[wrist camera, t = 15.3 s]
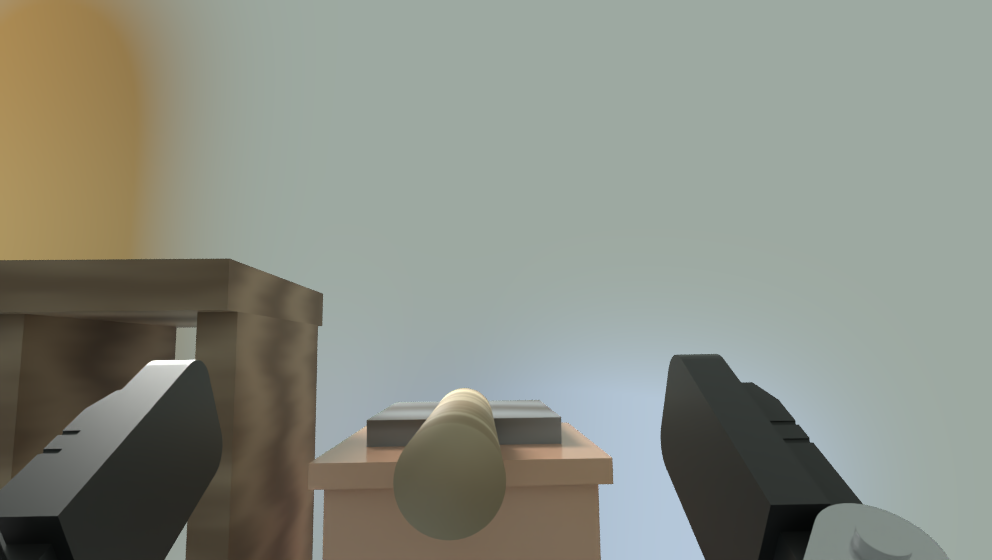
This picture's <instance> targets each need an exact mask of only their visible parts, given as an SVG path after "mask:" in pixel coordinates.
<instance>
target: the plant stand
mask: <svg viewBox="0 0 992 560" xmlns="http://www.w3.org/2000/svg"><path fill="white" fill-rule="evenodd" d="M322 307H323V294H322V293H319V292H317V291H314V290H311V289H309V288H306V287H303V286H301V285H298V284H295V283H293V282H290V281H287V280H285V279H282V278H279V277H277V276H274V275H272V274H269V273H266V272H264V271H261V270H258V269H256V268H253V267H250V266H247V265H245V264H242V263H239V262H237V261H234V260H232V259H131V260H130V259H128V260H7V261H6V260H0V490H1V489H2V488H3V487H4V486H5V485H6V484H7V483H8V482H9V481H10V480H11V479H12V478H13V477H14V476H15V475H17V474H18V473H19V472H20V471H21V470H22V469H23V468H24V467H25V466H26V465H27V464H28V463H29V462H30V461H31V460H32V459H33V458H34V457H35V456H36V455H37V454H42V453H43V449H44V448H45V447H46V446H47V445H48V444H49V443H50V442H51V441H52V440H53V439H54V438H55V437H56V436H57V435H62V433H63V431H62V430H64V429H65V428H66V427H67V426H68V425H69V424H70V423H71V422H72V421H73V420H74V419H75V418H76V417H77V416H78V415H79V414H80V413H81V412H82V411H83V410H84V409H86V408H87V407H89V406H91V405H93V404H94V403H96V402H98V401H99V400H101V399H103V398H105V397H106V396H108V395H110V394H111V393H113V392H115V391H117V390H122V389H123V388H124V387H125V386H126V385H127V384H128V383H129V382H130V381H131V380H132V379H133V378H134V377H135V376H136V375H137V374H138V373H139V372H140V371H141V370H142V369H143V368H144V367H145V366H146V365H147V364H148V363H149V362H151V361H155V360H175V343H176V328H178V327H197V335H196V355H195V360H200V361H202V362H203V363H204V364H205V366H206V367H207V370H208V373H209V377H210V382H211V387H212V391H213V396H214V400H215V405H216V410H217V414H218V419H219V423H220V428H221V432H222V440H223V447H222V456H221V461H220V464H219V467H218V470H217V472H216V474H215V476H214V477H213V479H212V481H211V482H210V484H209V486H208V487H207V489H206V491H205V492H204V494H203V496H202V497H201V499H200V501H199V502H198V504H197V506H196V507H195V509H194V511H193V512H192V514H191V516H190V517H189V519H188V521H187V541H186V560H312V549H313V507H314V505H313V504H314V503H313V502H314V490H308V471H309V463H310V462H312V461H313V460H315V423H316V381H317V337H318V326H322V311H323V308H322Z"/></svg>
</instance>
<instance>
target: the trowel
mask: <svg viewBox="0 0 992 560" xmlns="http://www.w3.org/2000/svg"><path fill="white" fill-rule="evenodd" d="M511 444H562V435H561V417H560V416H559V415H558V414H556V413H555V412H554V411H552V410H551V409H550V408H548V407H547V406H546V405H545V404H544V403H542V402H541V401H540V400H517V401H487V399H486V398H485V397H484V396H483V395H482V394H481V393H479V392H478V391H476V390H473V389H468V388H461V389H456V390H454V391H452V392H450V393H448V394H447V395H446V396H445V397H444V398H443V399H442V400H441V402H397V403H395V404H393V405H391V406H390V407H388V408H386V409H385V410H383V411H381V412H380V413H378V414H376V415H375V416H373V417H372V418H370V419H368V420H367V447H394V446H406V447H405V448H404V450H403V451H402V453H401V454H400V457H399V459H398V461H397V464H396V467H395V471H394V479H393V488H394V495H395V499H396V502H397V505H398V507H399V509H400V512H401V513H402V515H403V516H404V518H405V519H406V520H407V521H408V523H409V524H410V525H411V526H413V527H414V528H415V529H416V530H418V531H419V532H421V533H422V534H424V535H426V536H428V537H432V538H435V539H439V540H459V539H463V538H466V537H469V536H472V535H474V534H475V533H477V532H479V531H480V530H482V529H483V528H485V527H486V526H487V525H488V524H489V523H490V522H491V521H492V519H493V518H494V517H495V515H496V514H497V512H498V511H499V509H500V507H501V504H502V502H503V499H504V495H505V490H506V472H505V468H504V463H503V458H502V454H501V450H500V445H511Z"/></svg>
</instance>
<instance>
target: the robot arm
mask: <svg viewBox="0 0 992 560" xmlns="http://www.w3.org/2000/svg"><path fill="white" fill-rule="evenodd" d="M62 431H63V433H62V435H57V436H56V437H55V438H54V439H53V440H52V441H51V442H50V443H49V444H48V445H47V446H46V447H45V448H44V449H43V453H42V454H37V455H36V456H35V457H34V458H33V459H32V460H31V461H30V462H29V463H28V464H27V465H26V466H25V467H24V468H23V469H22V470H21V471H20V472H19V473H18V474H17V475H15V476H14V477H13V478H12V479H11V480H10V481H9V482H8V483H7V484H6V485H5V486H4V487H3V488H2V489H1V490H0V560H164V559H165V558H166V556H167V554H168V553H169V551H170V549H171V548H172V546H173V544H174V543H175V541H176V539H177V538H178V536H179V534H180V532H181V531H182V529H183V528H184V526H185V524H186V523H187V521H188V519H189V517H190V516H191V514H192V512H193V511H194V509H195V507H196V506H197V504H198V502H199V501H200V499H201V497H202V496H203V494H204V492H205V491H206V489H207V487H208V486H209V484H210V482H211V481H212V479H213V477H214V476H215V474H216V472H217V470H218V467H219V464H220V461H221V456H222V447H223V440H222V432H221V428H220V423H219V419H218V414H217V410H216V405H215V400H214V396H213V391H212V387H211V382H210V377H209V373H208V370H207V367H206V366H205V364H204V363H203V362H202V361H200V360H155V361H151V362H149V363H148V364H147V365H146V366H145V367H144V368H143V369H142V370H141V371H140V372H139V373H138V374H137V375H136V376H135V377H134V378H133V379H132V380H131V381H130V382H129V383H128V384H127V385H126V386H125V387H124V388H123V389H122V390H117V391H115V392H113V393H111V394H110V395H108V396H106V397H105V398H103V399H101V400H99V401H98V402H96V403H94V404H93V405H91V406H89V407H87V408H86V409H84V410H83V411H82V412H81V413H80V414H79V415H78V416H77V417H76V418H75V419H74V420H73V421H72V422H71V423H70V424H69V425H68V426H67V427H66V428H65V429H64V430H62ZM661 449H662V455H663V460H664V463H665V466H666V469H667V471H668V473H669V476H670V478H671V480H672V483H673V485H674V488H675V490H676V492H677V495H678V497H679V499H680V501H681V504H682V506H683V509H684V511H685V513H686V516H687V518H688V520H689V523H690V525H691V527H692V530H693V532H694V535H695V537H696V539H697V542H698V544H699V546H700V549H701V551H702V553H703V555H704V558H705V560H949V558H948V557H947V555H946V553H945V552H944V551H943V549H942V548H941V547H940V546H939V545H938V543H936V542H935V541H934V540H933V539H932V538H931V537H930V536H929V535H928V534H926V533H925V532H924V531H923V530H921V529H920V528H919V527H917V526H915V525H914V524H912V523H910V522H909V521H907V520H905V519H903V518H901V517H899V516H897V515H895V514H893V513H890V512H888V511H886V510H882V509H879V508H876V507H872V506H868V505H863V504H862V502H861V501H860V500H859V499H858V497H857V496H856V495H855V494H854V493H853V491H852V490H851V489H850V488H849V486H848V485H847V484H846V483H845V481H844V480H843V479H842V478H841V476H840V475H839V474H838V473H837V472H836V470H835V469H834V468H833V467H832V465H831V464H830V463H829V462H828V461H827V459H826V458H825V457H824V455H823V454H822V453H821V452H820V451H819V449H818V448H817V447H816V446H815V444H814V443H810V441H809V437H808V436H807V434H806V433H805V432H804V431H803V430H802V428H801V427H800V426H799V425H796V424H795V420H794V418H793V417H792V416H791V415H790V414H789V412H788V411H787V410H786V409H785V407H784V406H783V405H782V404H781V402H780V401H779V400H778V399H776V398H775V397H773V396H772V395H770V394H769V393H767V392H766V391H764V390H763V389H761V388H760V387H758V386H757V385H755V384H754V383H752V382H751V383H741V382H740V381H739V379H738V378H737V377H736V375H735V374H734V373H733V371H732V370H731V369H730V367H729V366H728V364H727V363H726V362H725V360H724V359H723V358H722V357H721V356H720V355H718V354H694V355H674V356H673V357H672V359H671V361H670V365H669V371H668V378H667V386H666V394H665V402H664V410H663V417H662V425H661Z"/></svg>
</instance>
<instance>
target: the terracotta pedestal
mask: <svg viewBox="0 0 992 560" xmlns="http://www.w3.org/2000/svg"><path fill="white" fill-rule="evenodd" d="M561 435H562V444H511V445H500V450H501V454H502V458H503V463H504V468H505V472H506V490H505V495H504V499H503V502H502V504H501V507H500V509H499V511H498V512H497V514H496V515H495V517H494V518H493V519H492V521H491V522H490V523H489V524H488V525H487V526H486V527H485V528H483V529H482V530H480V531H479V532H477V533H475V534H474V535H472V536H469V537H466V538H463V539H459V540H439V539H435V538H432V537H428V536H426V535H424V534H422V533H421V532H419V531H418V530H416V529H415V528H414V527H413V526H411V525H410V524H409V523H408V521H407V520H406V519H405V518H404V516H403V515H402V513H401V512H400V509H399V507H398V505H397V502H396V499H395V495H394V488H393V479H394V471H395V467H396V464H397V461H398V459H399V457H400V454H401V453H402V451H403V450H404V448H405V447H406V446H394V447H367V426H365V427H364V428H362V429H361V430H359V431H358V432H356V433H355V434H353V435H352V436H350V437H349V438H347V439H345V440H344V441H342V442H341V443H339V444H338V445H336V446H335V447H334V448H332V449H330V450H329V451H327V452H326V453H324V454H322V455H321V456H319V457H318V458H317V459H315V460H313V461H312V462H310V463H309V471H308V490H321V489H322V490H324V522H323V560H601V556H600V526H599V496H598V495H599V494H598V484H613V468H612V467H613V465H612V457H610V456H609V455H608V454H607V453H605V452H604V451H603V450H601V449H600V448H599V447H598V446H596V445H595V444H594V443H592V442H591V441H590V440H589V439H588V438H586V437H585V436H584V435H583V434H581V433H580V432H579V431H577V430H576V429H575V428H574V427H572V426H571V425H570V424H569V423H561Z"/></svg>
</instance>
